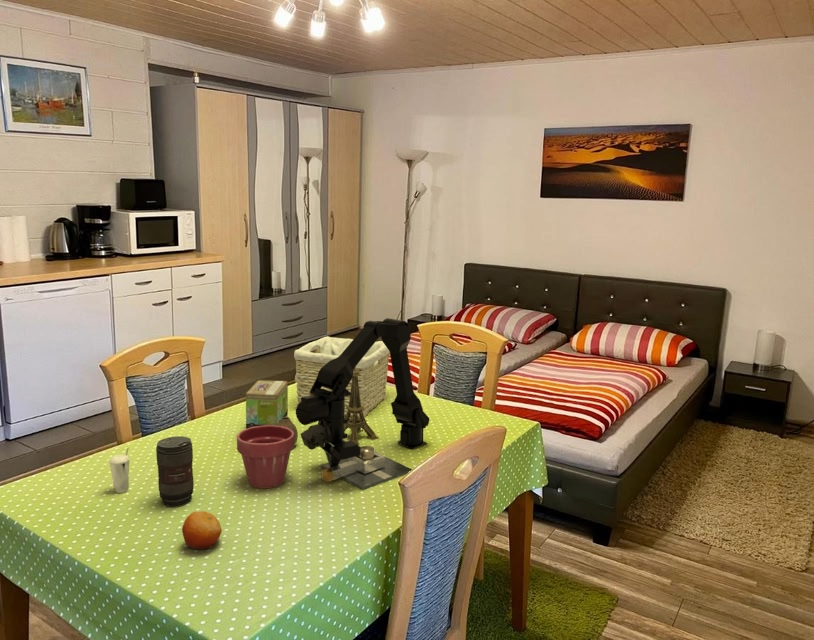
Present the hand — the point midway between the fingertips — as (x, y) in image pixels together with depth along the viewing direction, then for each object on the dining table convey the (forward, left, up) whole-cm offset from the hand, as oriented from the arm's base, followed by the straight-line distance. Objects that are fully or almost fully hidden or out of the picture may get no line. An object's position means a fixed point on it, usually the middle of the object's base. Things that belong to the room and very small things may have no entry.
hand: (333, 471), depth 170 cm
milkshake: (+44, -27, -2) cm, 52 cm away
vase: (-2, -26, -2) cm, 26 cm away
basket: (-38, -47, -2) cm, 61 cm away
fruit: (+40, +10, -2) cm, 42 cm away
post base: (-10, +2, -2) cm, 10 cm away
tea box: (-4, -40, -2) cm, 40 cm away
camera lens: (+36, -13, -2) cm, 39 cm away
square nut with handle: (-4, +2, -1) cm, 5 cm away
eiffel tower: (-22, -19, -2) cm, 29 cm away
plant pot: (+14, -9, -2) cm, 17 cm away
